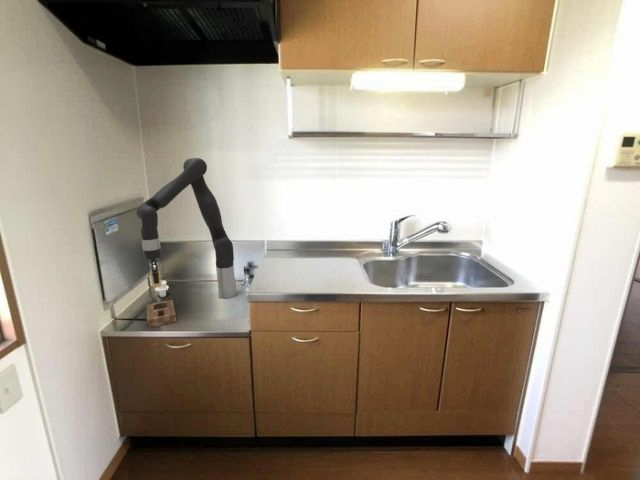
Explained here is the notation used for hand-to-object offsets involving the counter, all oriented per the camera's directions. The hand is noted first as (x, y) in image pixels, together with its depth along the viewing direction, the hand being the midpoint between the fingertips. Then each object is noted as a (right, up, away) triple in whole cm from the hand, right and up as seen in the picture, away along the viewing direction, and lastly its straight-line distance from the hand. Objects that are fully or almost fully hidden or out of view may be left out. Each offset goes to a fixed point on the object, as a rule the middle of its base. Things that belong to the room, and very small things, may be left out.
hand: (156, 281), depth 168 cm
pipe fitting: (-8, -11, +25) cm, 28 cm away
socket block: (+2, -17, +1) cm, 17 cm away
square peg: (0, -2, 0) cm, 2 cm away
